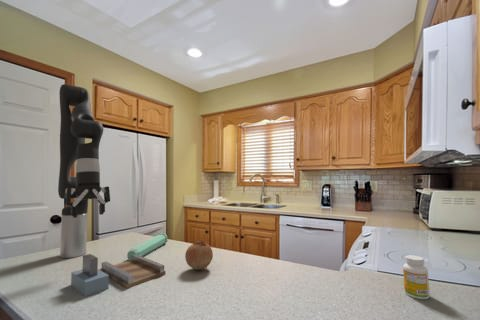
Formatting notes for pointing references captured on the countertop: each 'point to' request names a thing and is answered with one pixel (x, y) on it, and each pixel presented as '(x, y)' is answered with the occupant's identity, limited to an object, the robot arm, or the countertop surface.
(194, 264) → the onion
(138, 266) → the tray
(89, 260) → the blue block with handle
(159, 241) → the mint green cylinder
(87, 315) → the countertop surface
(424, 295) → the supplement bottle
